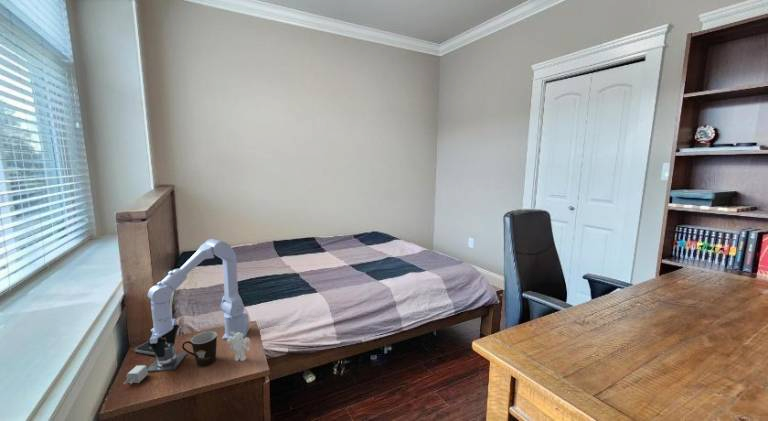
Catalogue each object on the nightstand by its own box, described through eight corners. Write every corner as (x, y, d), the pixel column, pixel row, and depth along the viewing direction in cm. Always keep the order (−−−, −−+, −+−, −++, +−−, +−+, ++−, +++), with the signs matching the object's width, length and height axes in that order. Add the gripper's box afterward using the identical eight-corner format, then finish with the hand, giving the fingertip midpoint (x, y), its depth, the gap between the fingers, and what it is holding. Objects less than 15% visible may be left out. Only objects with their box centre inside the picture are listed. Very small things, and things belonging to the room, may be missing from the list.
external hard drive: (150, 344, 136) (150, 340, 135) (171, 348, 133) (171, 343, 133) (134, 354, 129) (133, 349, 129) (156, 357, 126) (155, 353, 126)
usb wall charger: (148, 375, 115) (146, 365, 115) (133, 389, 108) (132, 378, 108) (136, 375, 115) (135, 365, 115) (121, 389, 108) (120, 378, 108)
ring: (177, 351, 125) (176, 342, 125) (170, 360, 120) (169, 350, 119) (161, 353, 124) (160, 343, 124) (154, 361, 119) (152, 351, 118)
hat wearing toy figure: (226, 361, 123) (224, 332, 121) (232, 355, 127) (230, 326, 125) (248, 363, 122) (246, 333, 120) (253, 357, 126) (251, 328, 124)
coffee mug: (224, 357, 126) (222, 333, 124) (205, 370, 118) (203, 345, 116) (201, 351, 129) (199, 328, 128) (182, 364, 121) (179, 340, 120)
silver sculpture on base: (187, 353, 128) (186, 340, 127) (175, 369, 118) (173, 355, 117) (160, 356, 127) (158, 343, 126) (145, 372, 117) (143, 358, 116)
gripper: (160, 309, 126) (164, 341, 128) (138, 327, 112) (143, 363, 114) (180, 307, 127) (183, 339, 129) (160, 326, 113) (164, 361, 115)
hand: (166, 350), depth 122 cm, fingers open, 7 cm apart
